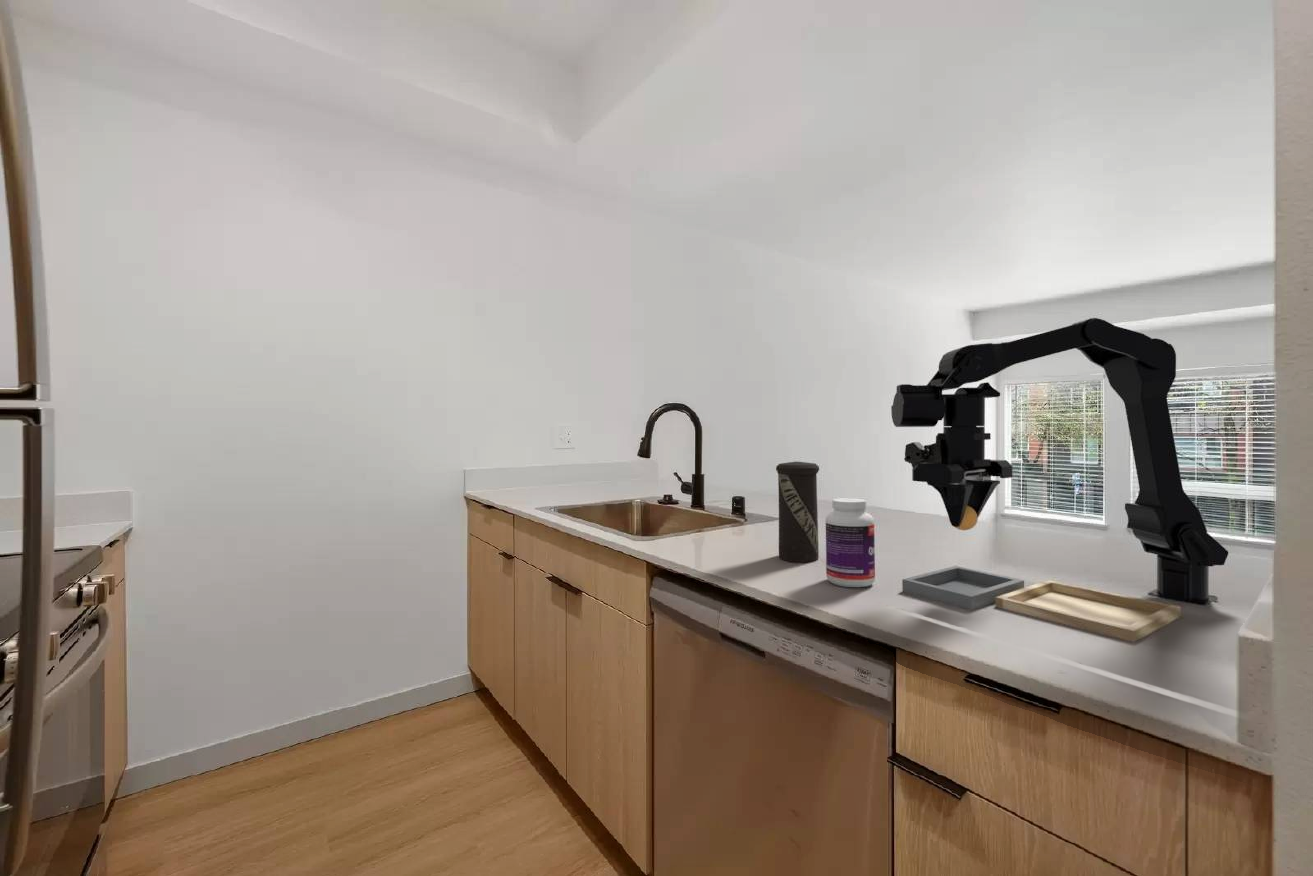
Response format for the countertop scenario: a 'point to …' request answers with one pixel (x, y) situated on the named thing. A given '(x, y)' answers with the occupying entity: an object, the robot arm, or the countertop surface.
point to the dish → (1090, 609)
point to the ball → (968, 519)
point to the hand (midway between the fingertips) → (963, 525)
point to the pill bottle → (850, 544)
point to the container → (798, 511)
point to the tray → (961, 586)
